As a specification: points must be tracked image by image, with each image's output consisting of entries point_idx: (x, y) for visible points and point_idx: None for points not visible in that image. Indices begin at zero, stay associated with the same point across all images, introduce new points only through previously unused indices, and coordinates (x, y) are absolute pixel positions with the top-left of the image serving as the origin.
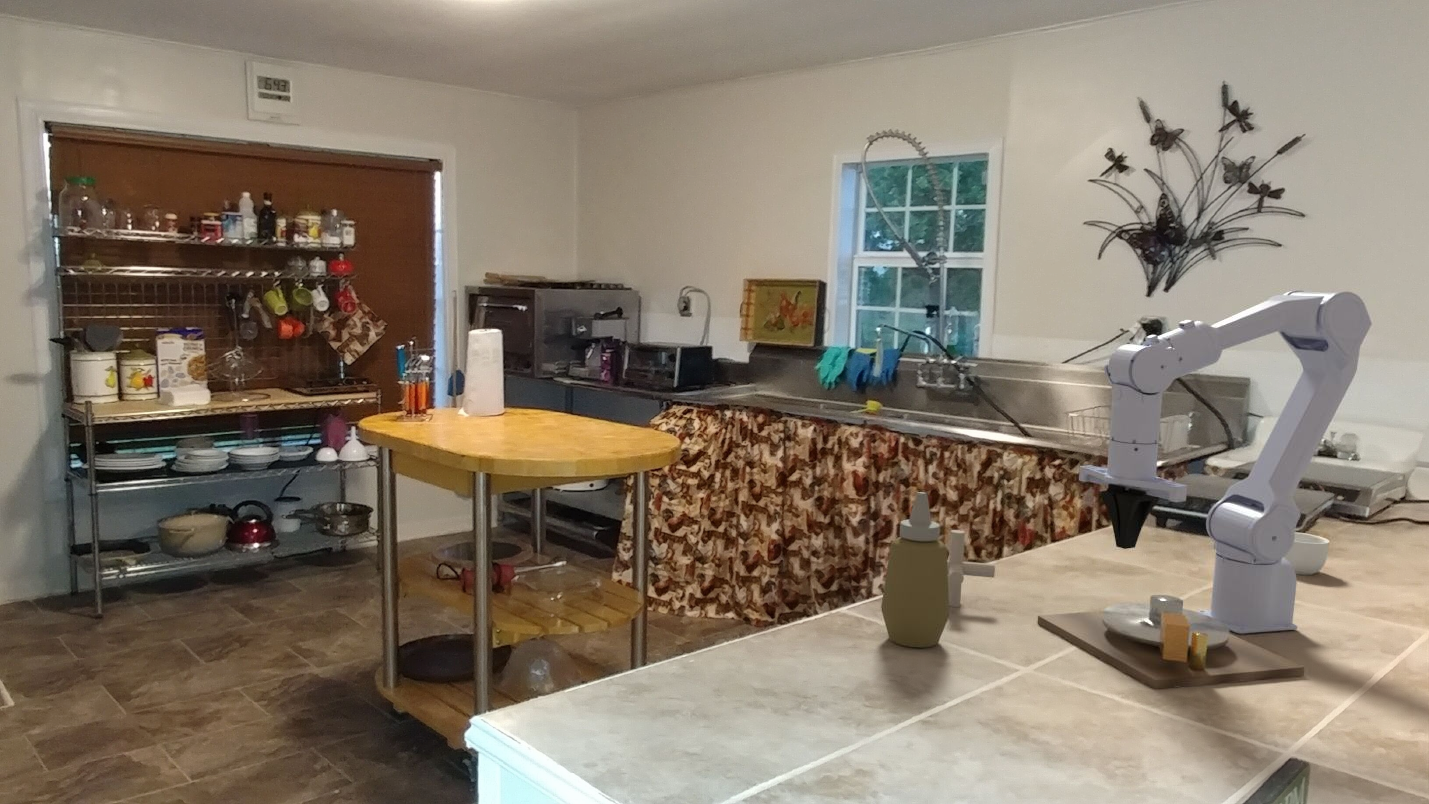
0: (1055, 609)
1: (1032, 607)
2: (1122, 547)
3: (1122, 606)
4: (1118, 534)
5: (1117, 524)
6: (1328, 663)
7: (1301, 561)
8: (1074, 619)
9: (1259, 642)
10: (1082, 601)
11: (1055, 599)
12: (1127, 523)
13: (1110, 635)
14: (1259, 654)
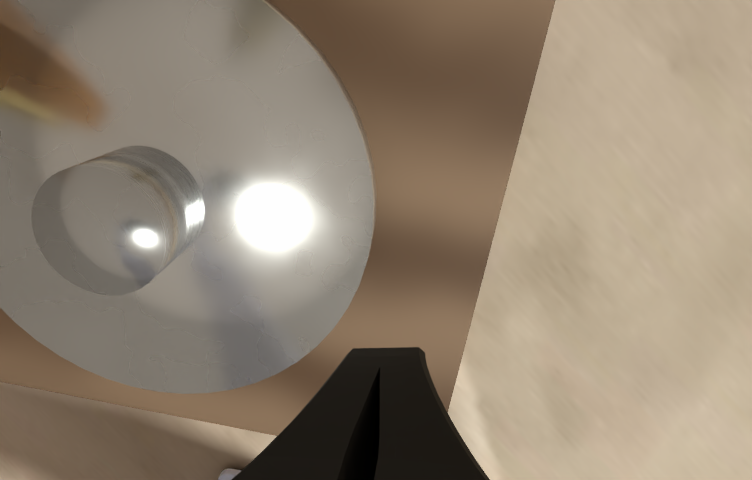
0: (658, 142)
1: (730, 66)
2: (363, 348)
3: (343, 195)
4: (384, 387)
5: (382, 434)
6: (7, 473)
7: None
8: (465, 39)
9: (165, 463)
10: (668, 312)
11: (744, 238)
12: (256, 461)
13: None
14: (12, 342)
